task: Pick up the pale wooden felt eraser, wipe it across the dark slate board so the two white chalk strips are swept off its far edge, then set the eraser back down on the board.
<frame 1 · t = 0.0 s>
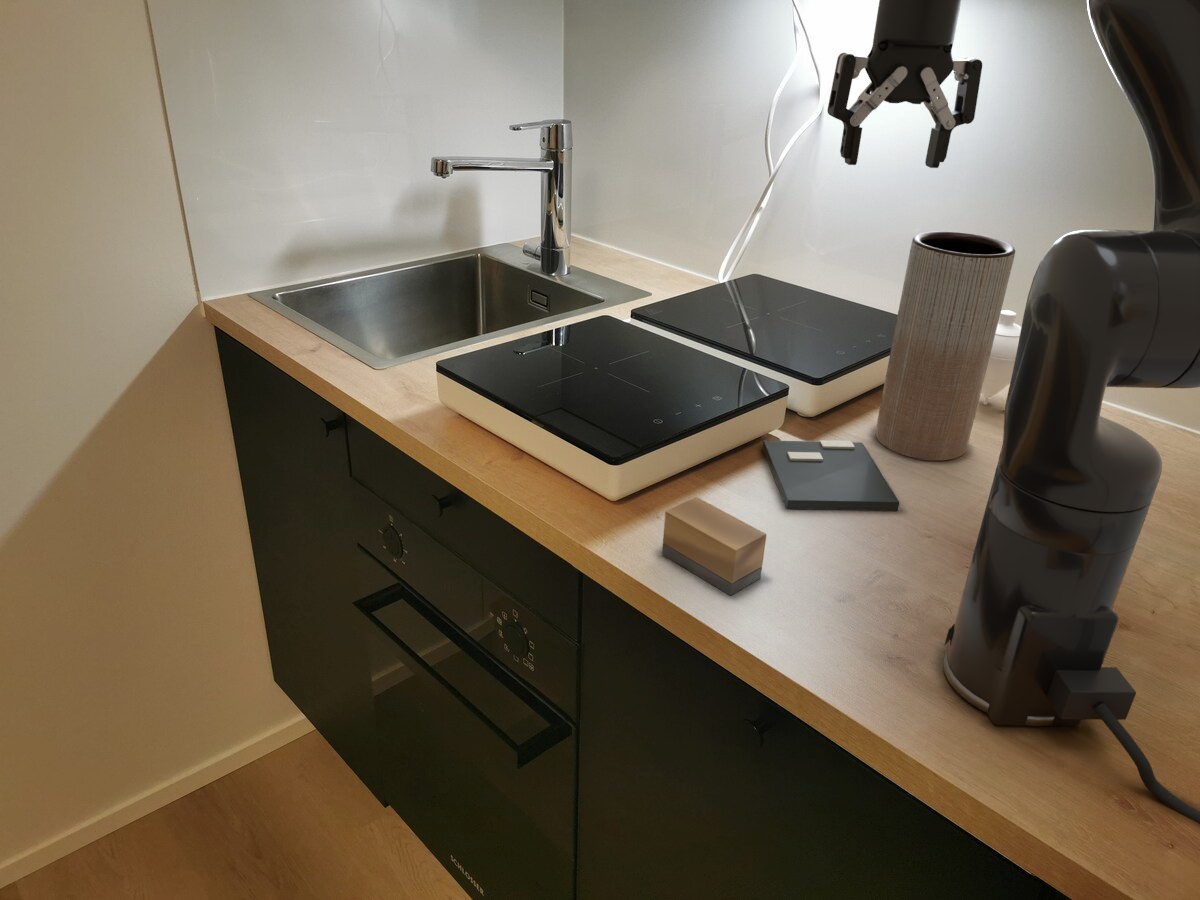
hand: (891, 165, 94), 29 cm above the worktop, tool pointing down, fingers open, 8 cm apart
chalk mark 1: (836, 445, 99), point 1 cm above the worktop, touching slate board
eraser: (710, 566, 79), on the worktop
slate board: (826, 477, 94), on the worktop
chalk mark 2: (804, 457, 96), point 1 cm above the worktop, touching slate board
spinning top: (984, 405, 113), on the worktop
planter: (919, 443, 103), on the worktop
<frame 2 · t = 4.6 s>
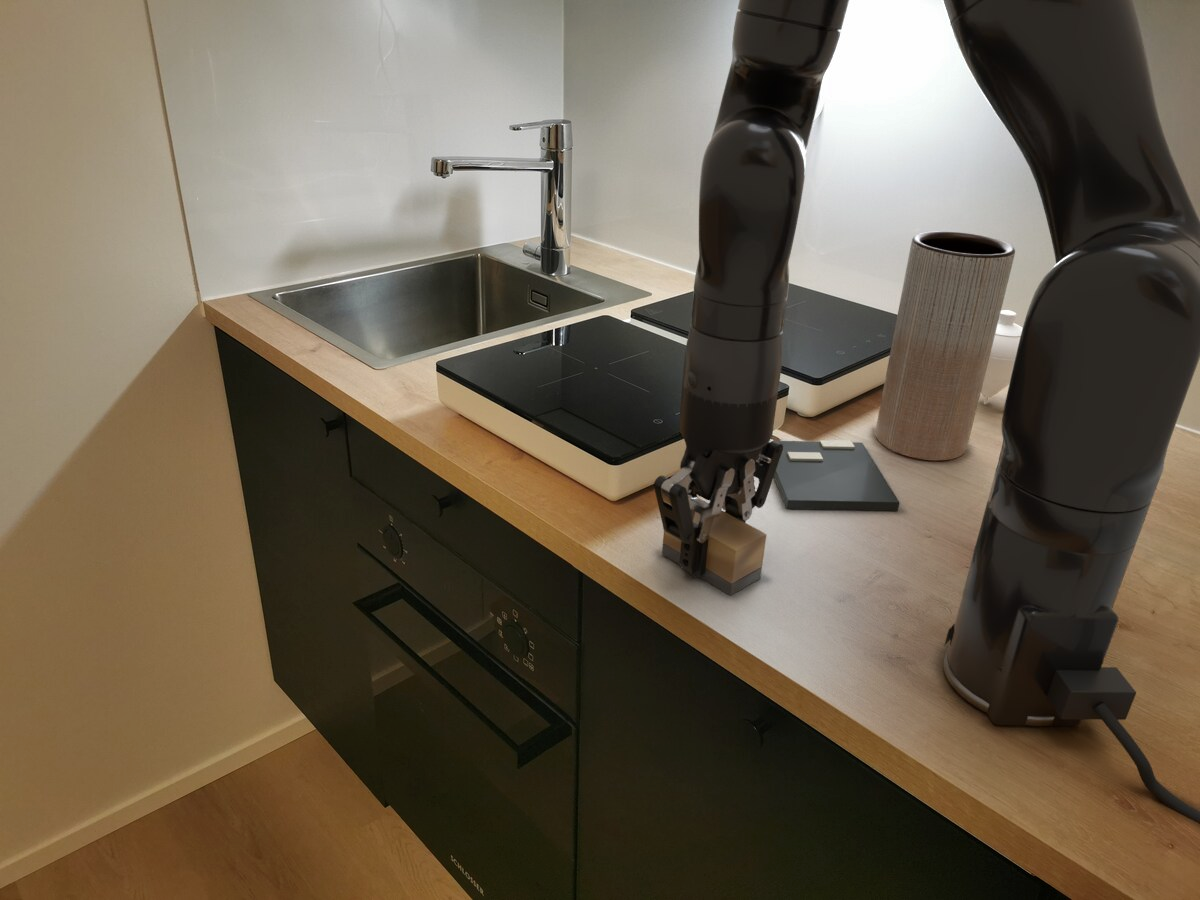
hand: (710, 561, 79), 0 cm above the worktop, tool pointing down, fingers closed on eraser, 4 cm apart
eraser: (710, 566, 79), on the worktop, touching gripper
everything else where it was.
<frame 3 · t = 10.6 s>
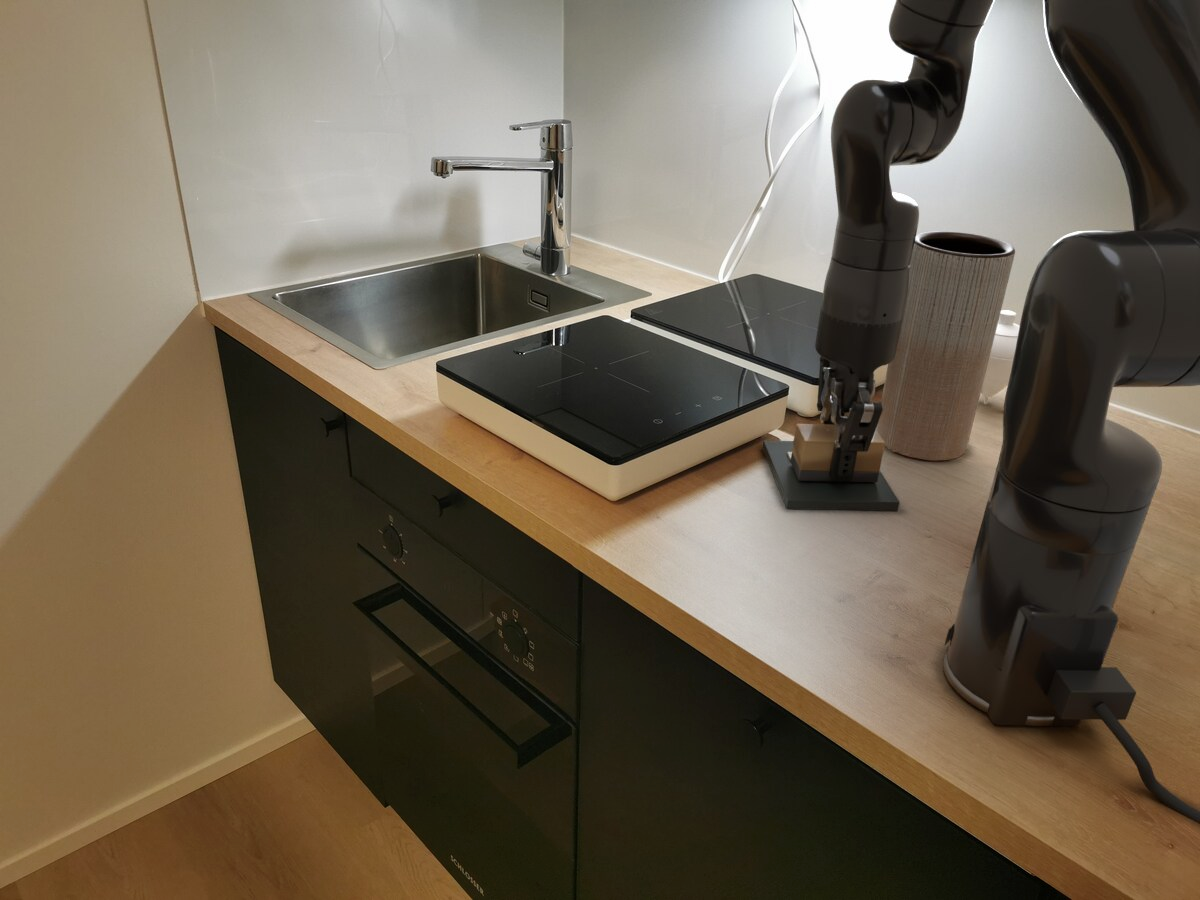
hand: (834, 468, 93), 2 cm above the worktop, tool pointing down, fingers closed on eraser, 4 cm apart
eraser: (833, 472, 93), point 1 cm above the worktop, touching gripper
everything else where it was.
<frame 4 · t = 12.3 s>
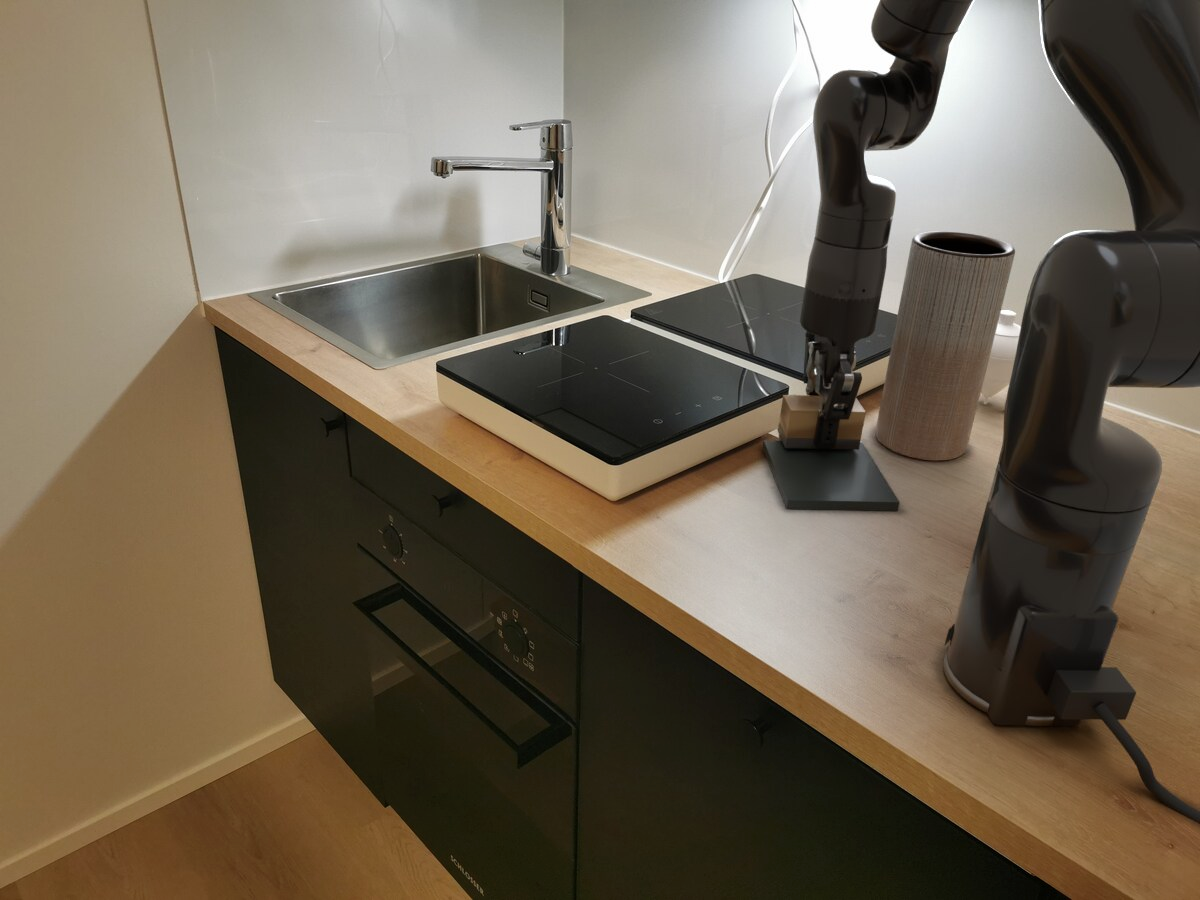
hand: (818, 436, 99), 2 cm above the worktop, tool pointing down, fingers closed on eraser, 4 cm apart
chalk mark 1: (831, 439, 101), point 1 cm above the worktop, tilted 102°, touching eraser
eraser: (817, 440, 99), point 1 cm above the worktop, touching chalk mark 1, chalk mark 2, gripper
chalk mark 2: (794, 439, 101), point 1 cm above the worktop, tilted 102°, touching eraser
everything else where it was.
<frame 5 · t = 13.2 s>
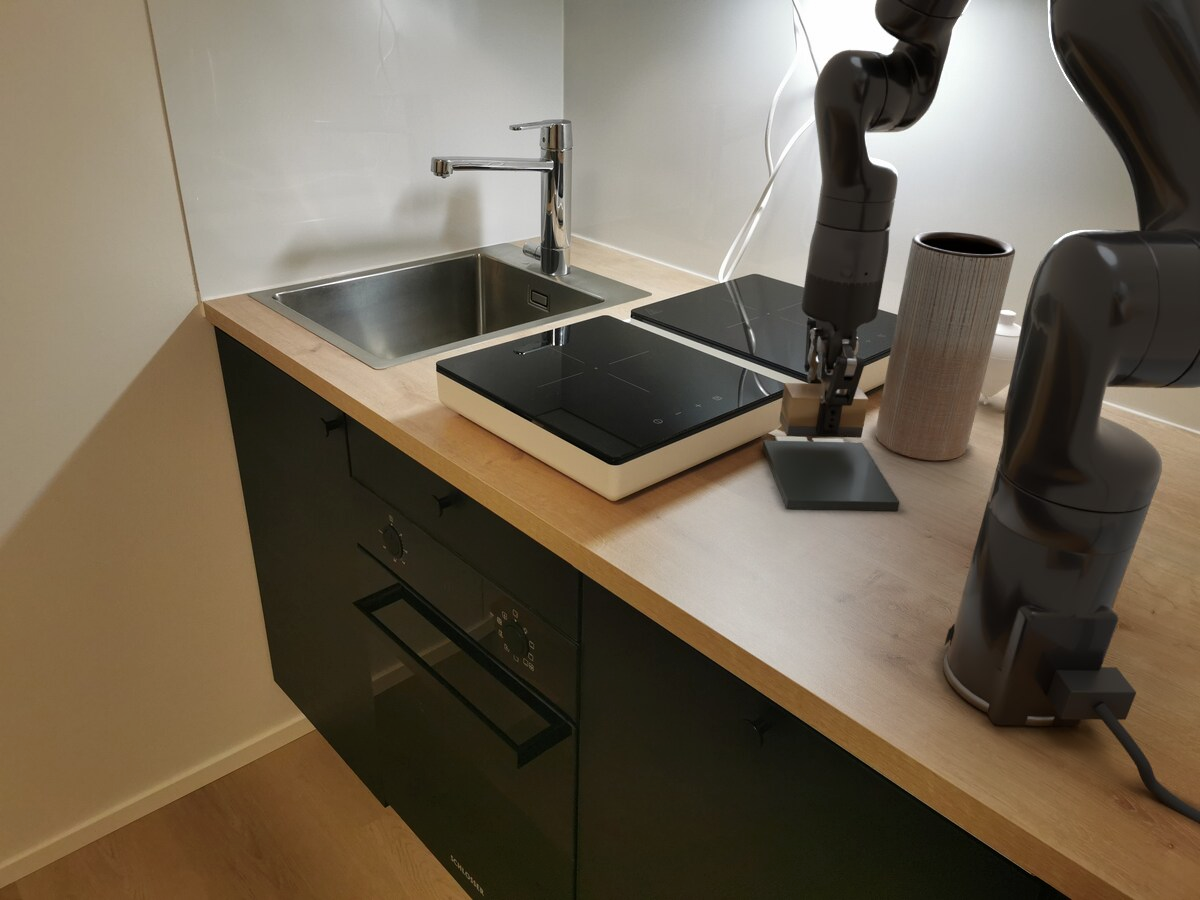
hand: (820, 425, 98), 4 cm above the worktop, tool pointing down, fingers closed on eraser, 4 cm apart
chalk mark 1: (828, 441, 102), on the worktop, tilted 180°
eraser: (819, 429, 98), point 3 cm above the worktop, touching gripper
chalk mark 2: (792, 439, 102), on the worktop, tilted 180°
everything else where it was.
when the fingers open (1 cm above the worktop, at t = 16.6 s): eraser stays where it is, resting on slate board.
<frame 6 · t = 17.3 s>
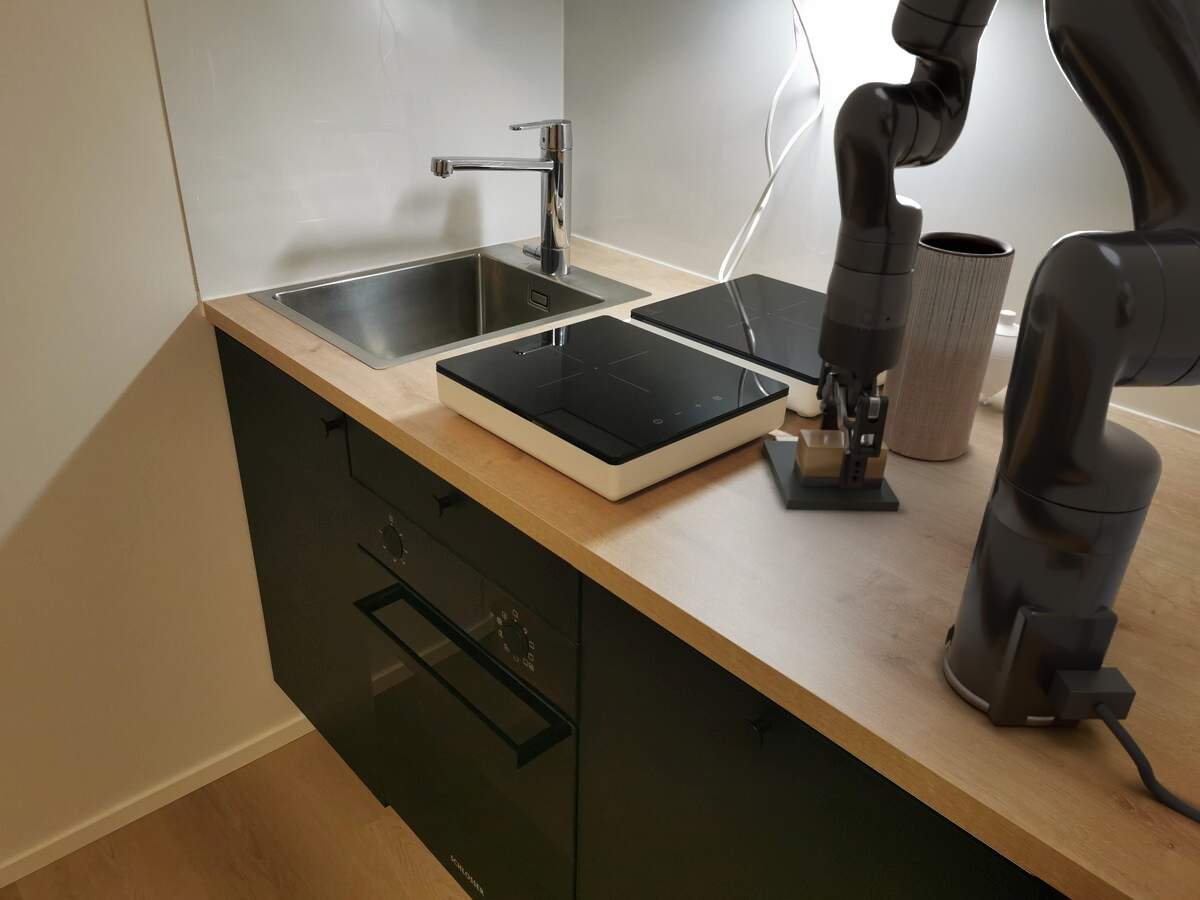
hand: (838, 466, 91), 2 cm above the worktop, tool pointing down, fingers open, 8 cm apart
eraser: (836, 478, 92), point 1 cm above the worktop, touching slate board
everything else where it was.
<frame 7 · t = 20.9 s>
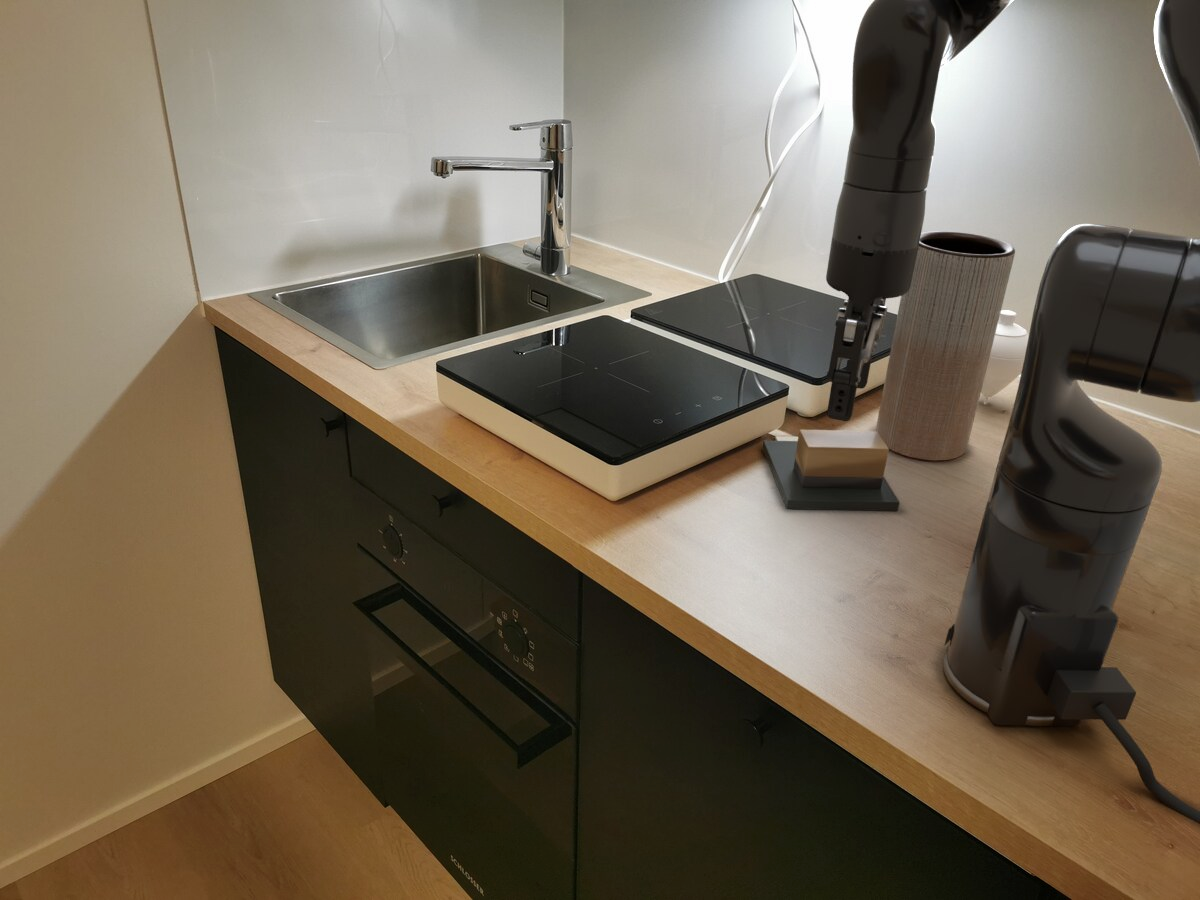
hand: (847, 401, 88), 10 cm above the worktop, tool pointing down, fingers open, 8 cm apart
nothing on the worktop moved.
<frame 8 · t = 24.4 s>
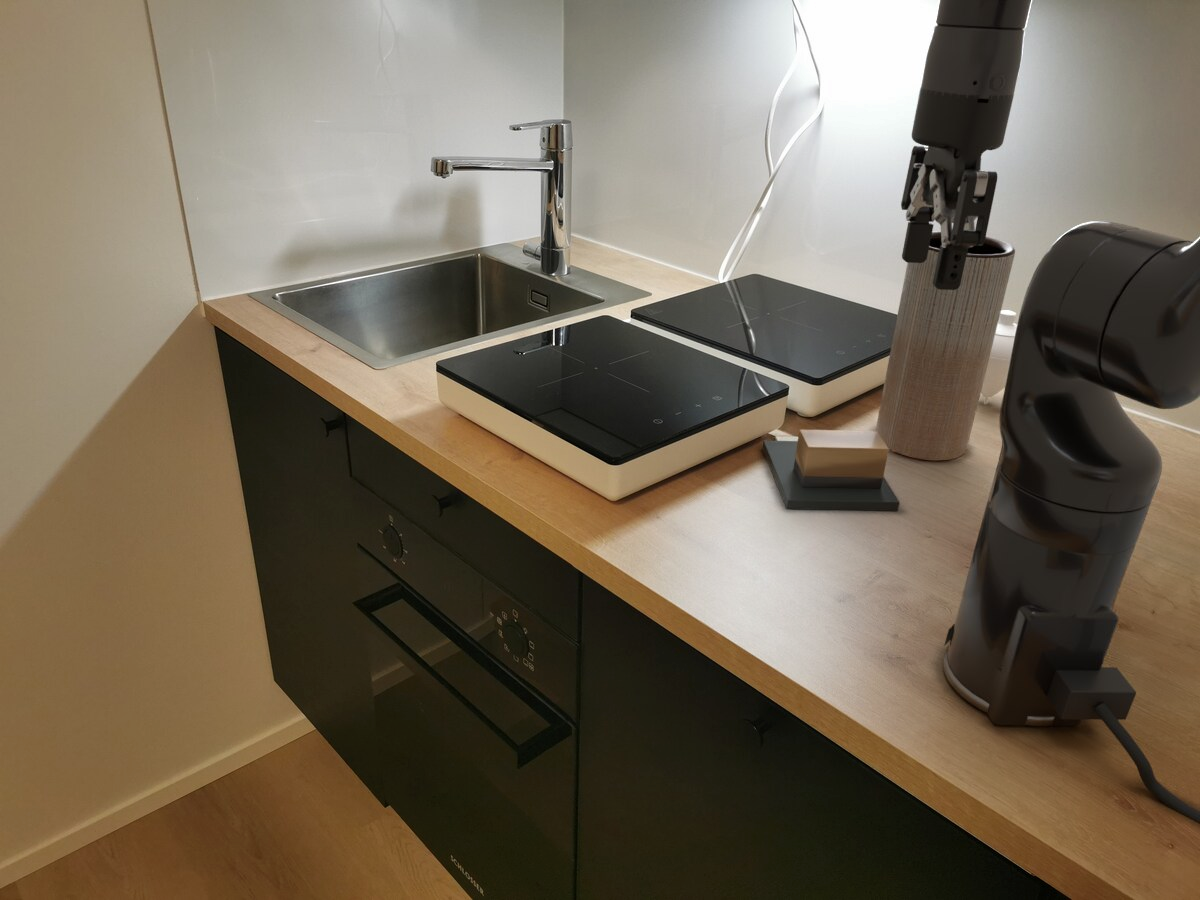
hand: (928, 274, 84), 22 cm above the worktop, tool pointing down, fingers open, 8 cm apart
nothing on the worktop moved.
at the end: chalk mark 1 on the worktop; chalk mark 2 on the worktop; eraser inside the target area on the slate board (1.9 cm from its centre), point 1.0 cm above the slate board's base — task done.
